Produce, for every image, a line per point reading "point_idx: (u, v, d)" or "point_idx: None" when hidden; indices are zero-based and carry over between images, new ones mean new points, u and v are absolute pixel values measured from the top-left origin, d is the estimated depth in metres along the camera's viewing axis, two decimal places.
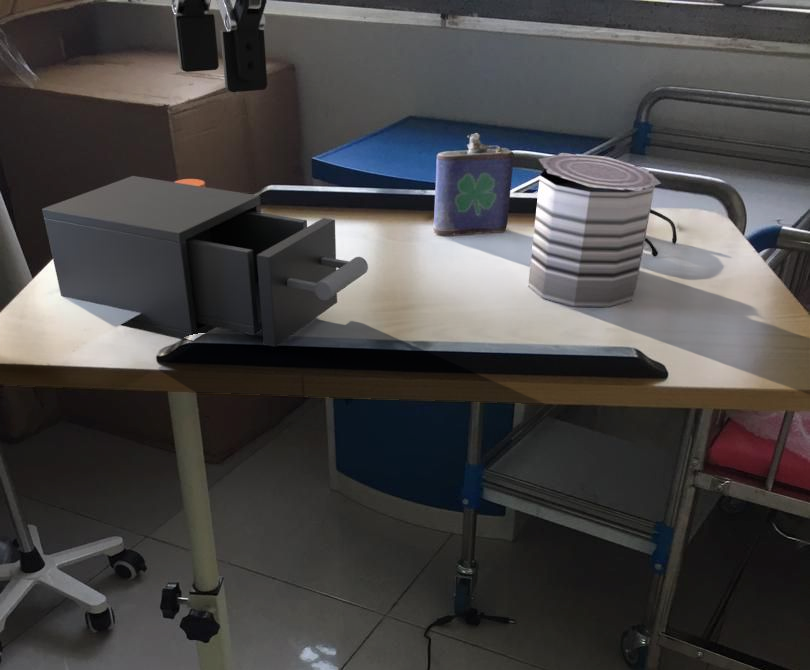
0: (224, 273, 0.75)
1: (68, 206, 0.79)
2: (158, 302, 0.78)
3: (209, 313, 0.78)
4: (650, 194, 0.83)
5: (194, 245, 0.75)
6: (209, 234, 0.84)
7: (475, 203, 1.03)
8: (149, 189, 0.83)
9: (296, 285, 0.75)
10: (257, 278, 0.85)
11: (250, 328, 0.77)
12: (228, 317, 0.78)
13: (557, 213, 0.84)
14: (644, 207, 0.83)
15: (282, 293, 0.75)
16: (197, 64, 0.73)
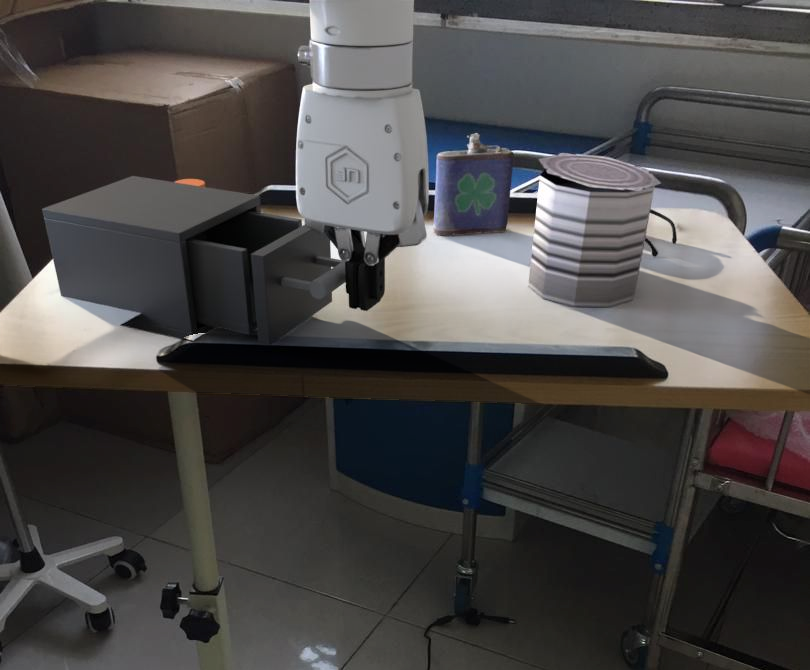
0: (219, 272, 0.75)
1: (68, 206, 0.79)
2: (158, 302, 0.78)
3: (203, 312, 0.78)
4: (650, 194, 0.83)
5: (189, 245, 0.75)
6: (204, 233, 0.85)
7: (475, 203, 1.03)
8: (149, 189, 0.83)
9: (290, 284, 0.75)
10: (252, 277, 0.85)
11: (245, 327, 0.77)
12: (222, 316, 0.78)
13: (557, 213, 0.84)
14: (644, 207, 0.83)
15: (276, 292, 0.75)
16: None
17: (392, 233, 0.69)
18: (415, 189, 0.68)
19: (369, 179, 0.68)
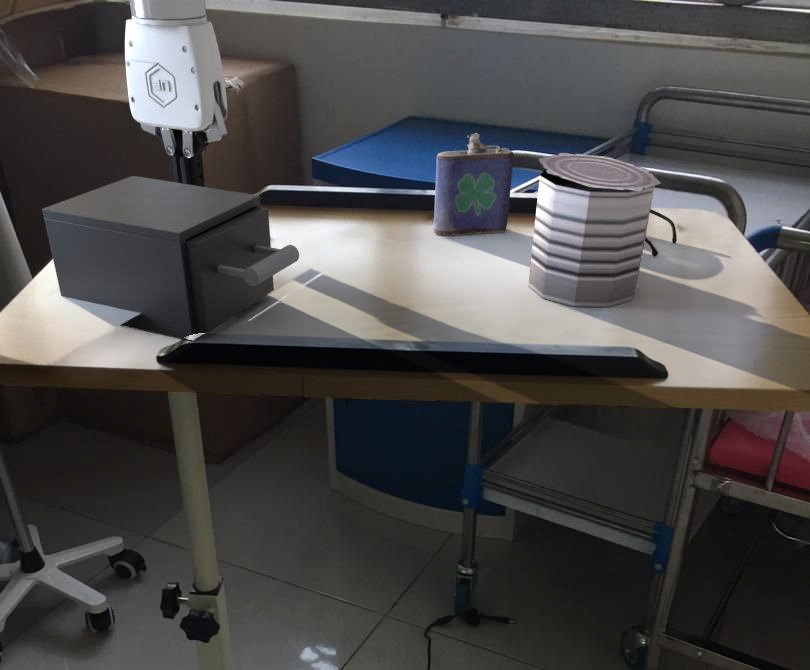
0: None
1: (68, 206, 0.79)
2: (158, 302, 0.78)
3: None
4: (650, 194, 0.83)
5: None
6: None
7: (475, 203, 1.03)
8: (149, 189, 0.83)
9: (226, 271, 0.77)
10: None
11: None
12: None
13: (557, 213, 0.84)
14: (644, 207, 0.83)
15: (213, 279, 0.77)
16: None
17: (197, 129, 0.94)
18: (211, 96, 0.93)
19: (176, 88, 0.92)
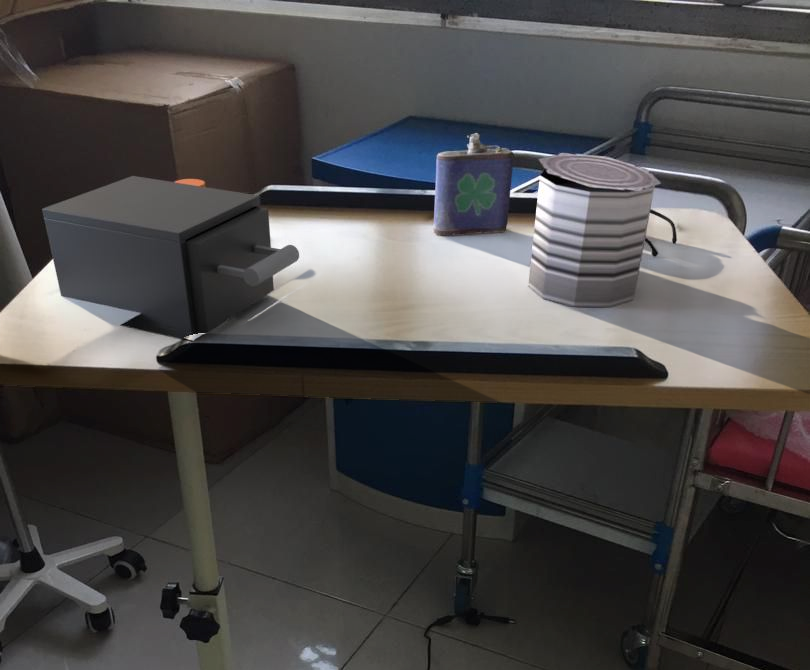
0: None
1: (68, 206, 0.79)
2: (158, 302, 0.78)
3: None
4: (650, 194, 0.83)
5: None
6: None
7: (475, 203, 1.03)
8: (149, 189, 0.83)
9: (226, 271, 0.77)
10: None
11: None
12: None
13: (557, 213, 0.84)
14: (644, 207, 0.83)
15: (213, 279, 0.77)
16: None
17: None
18: None
19: None
